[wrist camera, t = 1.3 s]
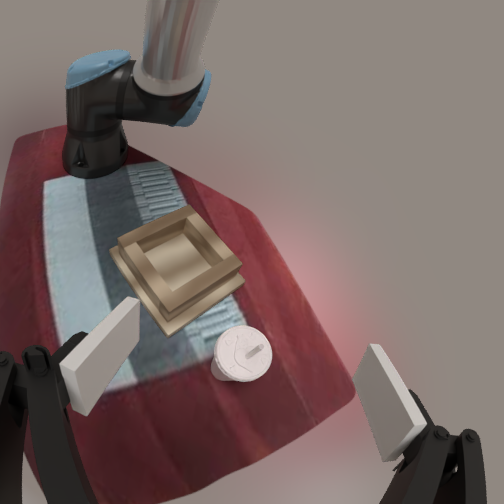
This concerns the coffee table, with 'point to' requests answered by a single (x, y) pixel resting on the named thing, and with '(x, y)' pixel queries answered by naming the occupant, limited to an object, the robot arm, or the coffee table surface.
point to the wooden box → (177, 268)
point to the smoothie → (241, 355)
